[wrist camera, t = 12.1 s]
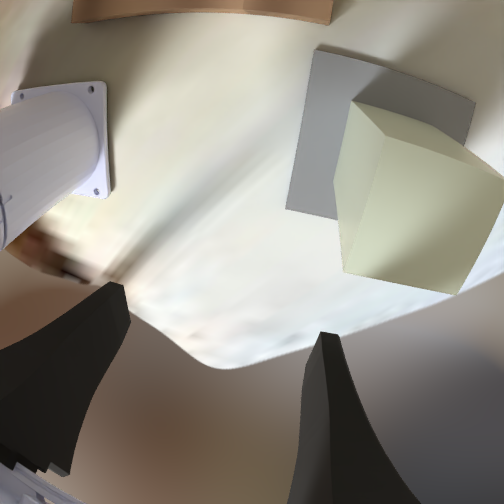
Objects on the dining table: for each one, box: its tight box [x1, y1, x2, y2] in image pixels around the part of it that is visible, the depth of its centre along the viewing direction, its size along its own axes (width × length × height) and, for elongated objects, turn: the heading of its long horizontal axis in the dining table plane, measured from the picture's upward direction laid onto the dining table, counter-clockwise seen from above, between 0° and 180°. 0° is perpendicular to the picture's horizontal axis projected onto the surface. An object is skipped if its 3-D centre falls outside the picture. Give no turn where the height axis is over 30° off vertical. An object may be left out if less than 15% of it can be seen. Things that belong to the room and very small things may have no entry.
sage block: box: [333, 101, 504, 295], centre depth 12 cm, size 4×4×8 cm
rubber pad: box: [285, 50, 476, 220], centre depth 15 cm, size 9×9×1 cm
